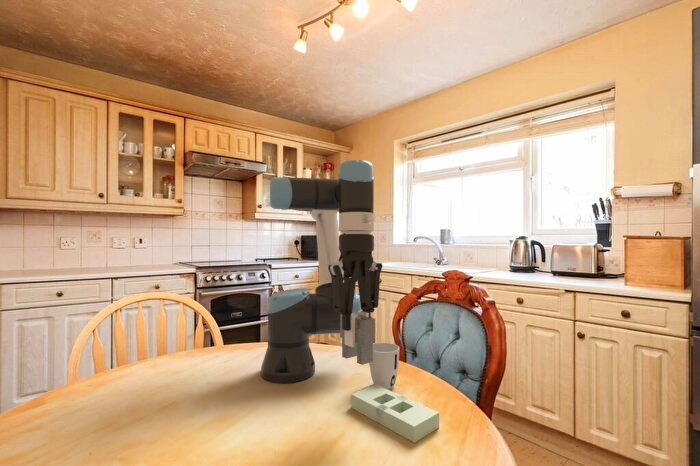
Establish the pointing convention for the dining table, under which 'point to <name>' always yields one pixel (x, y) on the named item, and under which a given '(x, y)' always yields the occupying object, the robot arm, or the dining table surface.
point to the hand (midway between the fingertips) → (356, 343)
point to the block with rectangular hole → (396, 412)
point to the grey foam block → (360, 339)
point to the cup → (384, 364)
